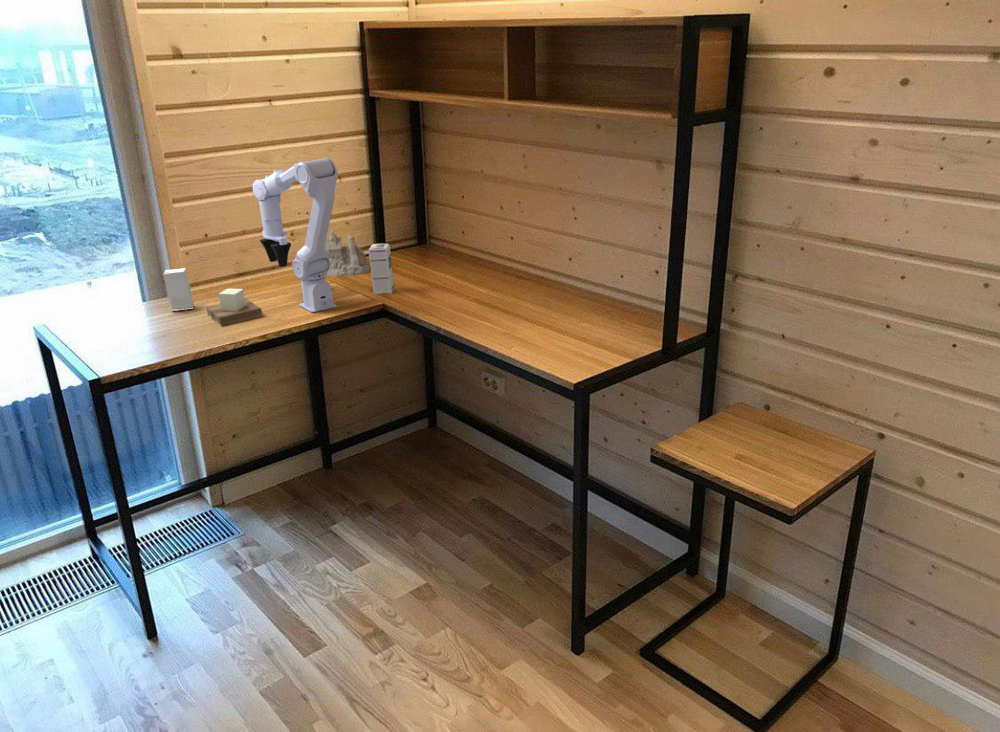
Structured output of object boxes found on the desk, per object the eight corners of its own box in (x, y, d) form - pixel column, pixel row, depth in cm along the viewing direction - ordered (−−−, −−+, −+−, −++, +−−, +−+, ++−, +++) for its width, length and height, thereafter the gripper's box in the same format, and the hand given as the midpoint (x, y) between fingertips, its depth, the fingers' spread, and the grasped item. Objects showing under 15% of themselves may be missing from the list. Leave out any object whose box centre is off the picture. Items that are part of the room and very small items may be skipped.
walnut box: (262, 318, 230) (261, 308, 229) (221, 327, 224) (219, 317, 223) (248, 308, 239) (246, 298, 238) (208, 317, 233) (206, 307, 232)
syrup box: (392, 293, 245) (387, 247, 239) (372, 294, 245) (368, 248, 240) (394, 288, 250) (390, 242, 245) (375, 288, 251) (371, 243, 245)
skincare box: (194, 305, 241) (186, 267, 237) (193, 310, 237) (185, 271, 233) (173, 308, 240) (165, 269, 235) (171, 312, 236) (162, 273, 231)
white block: (246, 305, 232) (243, 289, 230) (237, 311, 227) (234, 294, 225) (230, 304, 233) (227, 288, 231) (221, 310, 228) (218, 293, 226)
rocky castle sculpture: (368, 274, 265) (362, 229, 260) (319, 278, 265) (312, 234, 260) (372, 264, 280) (367, 221, 275) (326, 268, 280) (319, 226, 275)
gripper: (294, 221, 234) (300, 266, 239) (275, 213, 245) (281, 256, 250) (271, 225, 230) (277, 270, 236) (253, 217, 241) (260, 260, 246)
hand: (278, 263), depth 243 cm, fingers open, 7 cm apart
